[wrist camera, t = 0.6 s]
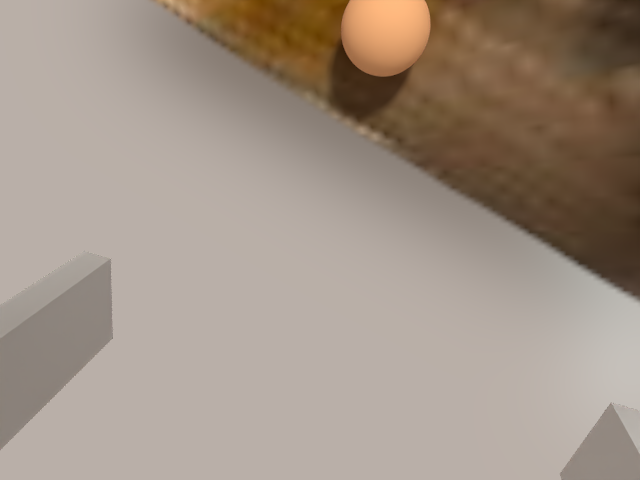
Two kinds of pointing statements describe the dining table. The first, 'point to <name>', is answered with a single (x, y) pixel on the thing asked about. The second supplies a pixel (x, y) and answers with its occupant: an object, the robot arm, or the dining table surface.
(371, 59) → the ball
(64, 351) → the robot arm
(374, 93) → the dining table surface
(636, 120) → the dining table surface
